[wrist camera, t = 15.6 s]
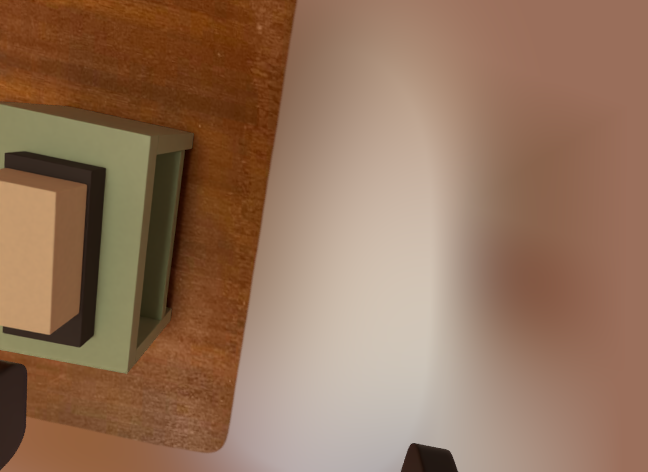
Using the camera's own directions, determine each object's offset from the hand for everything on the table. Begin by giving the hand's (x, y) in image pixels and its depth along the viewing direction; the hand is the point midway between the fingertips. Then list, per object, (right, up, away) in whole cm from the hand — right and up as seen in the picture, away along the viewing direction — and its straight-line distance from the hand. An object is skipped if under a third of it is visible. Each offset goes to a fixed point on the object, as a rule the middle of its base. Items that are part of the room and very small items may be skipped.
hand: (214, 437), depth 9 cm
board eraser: (-18, +3, +24) cm, 30 cm away
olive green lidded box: (-18, +6, +33) cm, 39 cm away
